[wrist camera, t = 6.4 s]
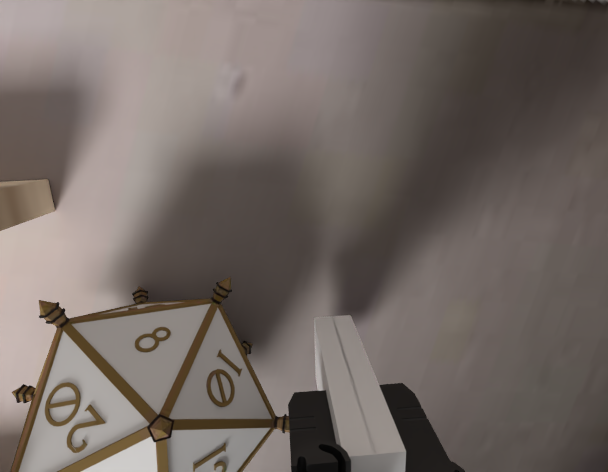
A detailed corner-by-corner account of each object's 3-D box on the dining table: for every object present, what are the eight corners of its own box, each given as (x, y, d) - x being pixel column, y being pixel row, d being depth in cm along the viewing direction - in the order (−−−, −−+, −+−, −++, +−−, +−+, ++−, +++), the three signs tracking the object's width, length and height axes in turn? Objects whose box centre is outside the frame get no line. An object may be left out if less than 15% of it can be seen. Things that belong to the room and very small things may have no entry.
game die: (161, 320, 20) (-112, 441, 12) (232, 201, 16) (-124, 264, 8) (270, 470, 18) (21, 749, 10) (388, 379, 13) (117, 750, 5)
